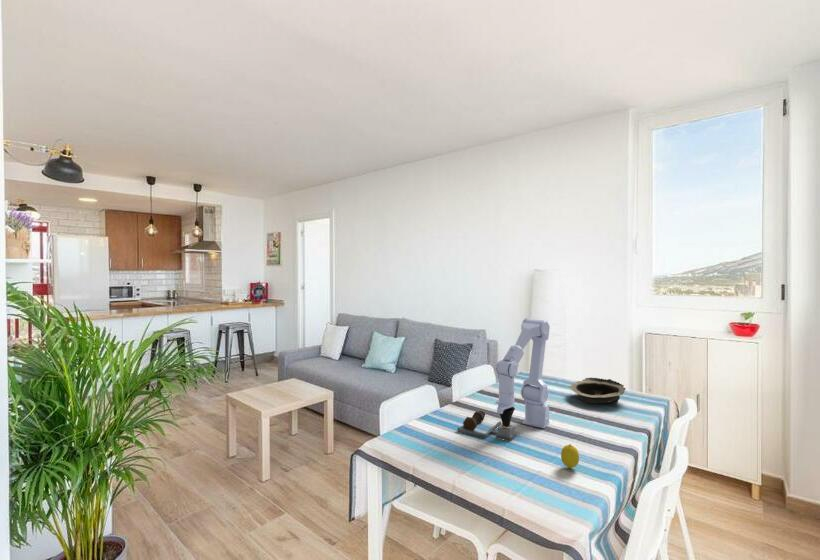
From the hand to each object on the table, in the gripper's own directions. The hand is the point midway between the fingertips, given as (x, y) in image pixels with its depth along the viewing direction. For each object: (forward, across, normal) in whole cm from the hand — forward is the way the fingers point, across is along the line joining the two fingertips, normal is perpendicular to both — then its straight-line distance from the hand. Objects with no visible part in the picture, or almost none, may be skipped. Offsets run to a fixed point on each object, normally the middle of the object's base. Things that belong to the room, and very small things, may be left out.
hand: (506, 426), depth 156 cm
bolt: (+5, -5, -15) cm, 16 cm away
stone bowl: (+4, -64, +23) cm, 68 cm away
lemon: (+4, +12, +26) cm, 29 cm away
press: (+4, -2, -8) cm, 9 cm away
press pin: (+3, 0, 0) cm, 3 cm away
